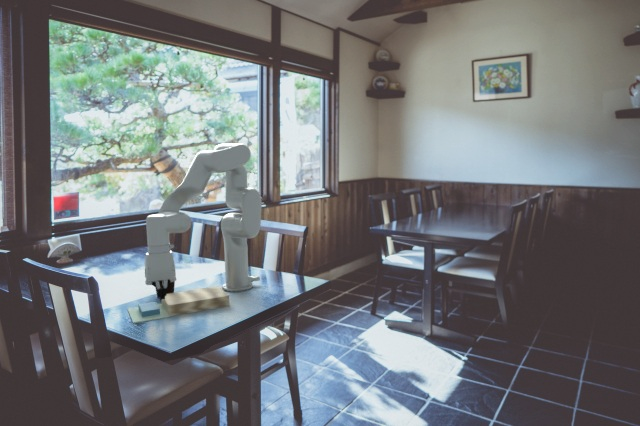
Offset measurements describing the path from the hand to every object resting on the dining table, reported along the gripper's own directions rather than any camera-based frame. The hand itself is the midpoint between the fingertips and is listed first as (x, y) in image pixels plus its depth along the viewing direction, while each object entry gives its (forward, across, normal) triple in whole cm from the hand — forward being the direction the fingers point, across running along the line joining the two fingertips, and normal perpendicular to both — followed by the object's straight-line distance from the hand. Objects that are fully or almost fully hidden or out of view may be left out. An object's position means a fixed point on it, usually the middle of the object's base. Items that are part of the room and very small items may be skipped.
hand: (162, 298), depth 176 cm
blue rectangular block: (+2, +5, 0) cm, 5 cm away
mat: (+5, +5, 0) cm, 7 cm away
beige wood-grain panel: (+5, -12, 0) cm, 13 cm away
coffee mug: (+5, -5, -19) cm, 20 cm away
